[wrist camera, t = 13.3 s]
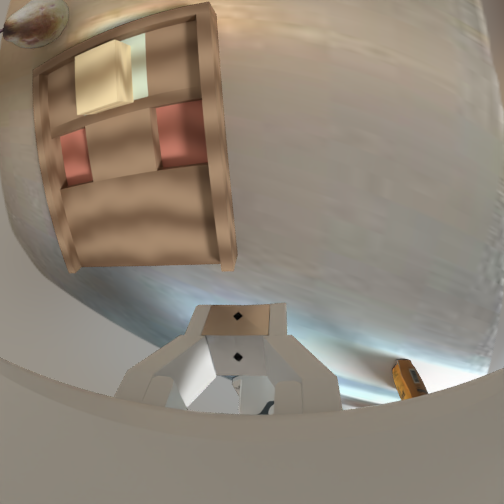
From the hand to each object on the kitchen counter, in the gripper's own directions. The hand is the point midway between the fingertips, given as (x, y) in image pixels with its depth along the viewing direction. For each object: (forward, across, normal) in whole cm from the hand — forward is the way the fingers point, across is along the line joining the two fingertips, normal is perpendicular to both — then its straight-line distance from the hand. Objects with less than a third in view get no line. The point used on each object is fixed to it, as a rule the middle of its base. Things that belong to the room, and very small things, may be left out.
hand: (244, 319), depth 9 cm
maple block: (+24, +18, -16) cm, 34 cm away
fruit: (+26, +30, -32) cm, 51 cm away
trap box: (+26, +18, -6) cm, 33 cm away
